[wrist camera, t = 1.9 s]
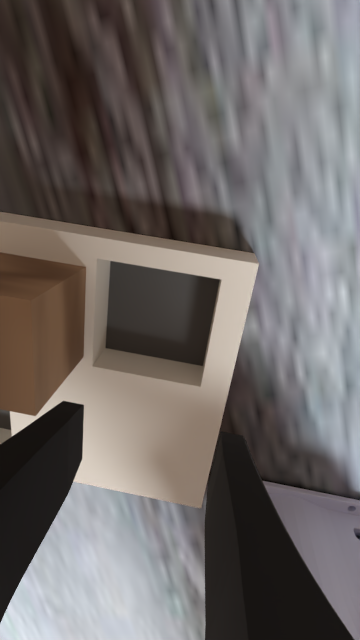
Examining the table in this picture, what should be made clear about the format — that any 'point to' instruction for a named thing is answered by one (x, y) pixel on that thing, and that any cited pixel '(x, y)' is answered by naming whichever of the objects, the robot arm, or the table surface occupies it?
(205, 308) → the trap board
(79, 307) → the walnut block
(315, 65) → the table surface
